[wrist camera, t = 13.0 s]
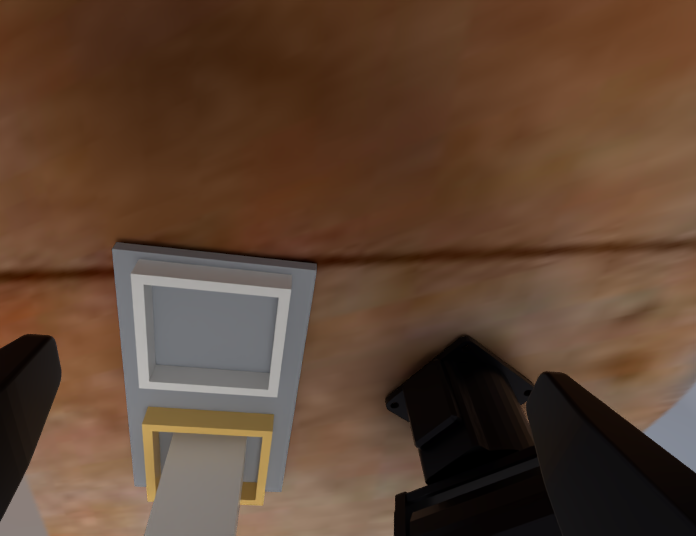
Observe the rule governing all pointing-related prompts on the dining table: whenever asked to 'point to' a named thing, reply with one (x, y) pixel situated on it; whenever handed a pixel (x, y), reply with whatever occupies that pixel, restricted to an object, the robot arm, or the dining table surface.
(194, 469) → the plug
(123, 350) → the socket panel
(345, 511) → the dining table surface
